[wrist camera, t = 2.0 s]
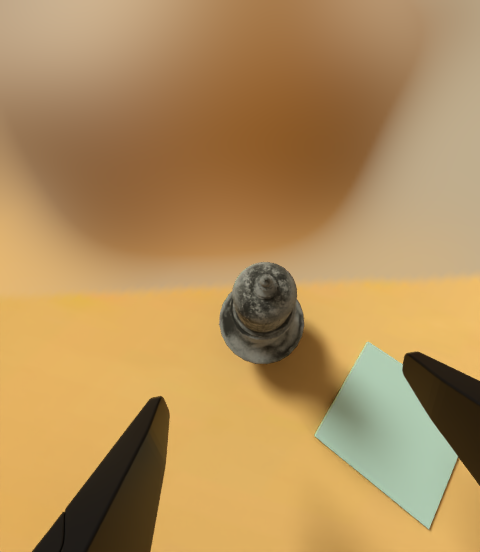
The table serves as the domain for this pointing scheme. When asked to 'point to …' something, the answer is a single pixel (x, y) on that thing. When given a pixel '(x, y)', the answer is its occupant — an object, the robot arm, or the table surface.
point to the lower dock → (389, 435)
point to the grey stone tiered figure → (262, 314)
